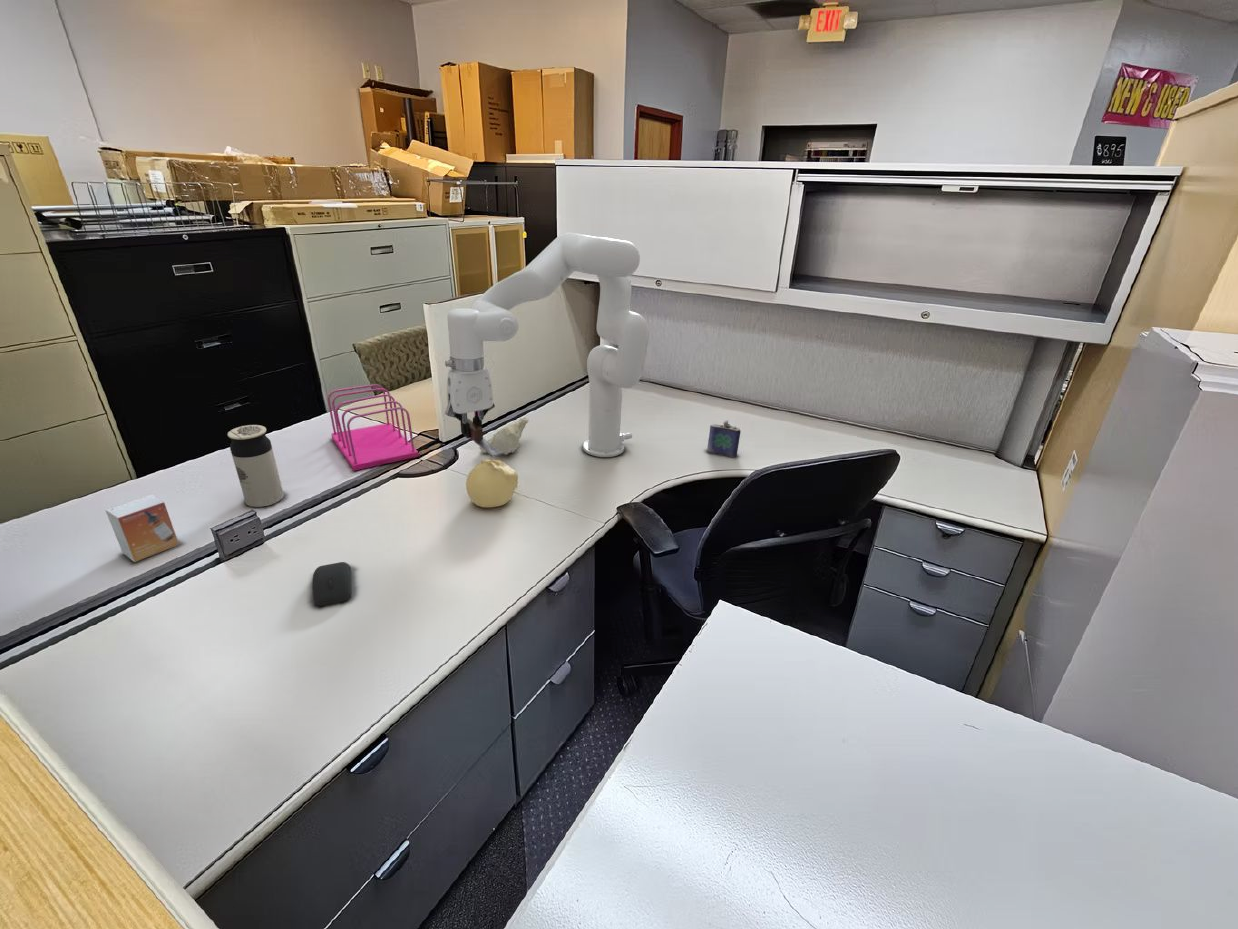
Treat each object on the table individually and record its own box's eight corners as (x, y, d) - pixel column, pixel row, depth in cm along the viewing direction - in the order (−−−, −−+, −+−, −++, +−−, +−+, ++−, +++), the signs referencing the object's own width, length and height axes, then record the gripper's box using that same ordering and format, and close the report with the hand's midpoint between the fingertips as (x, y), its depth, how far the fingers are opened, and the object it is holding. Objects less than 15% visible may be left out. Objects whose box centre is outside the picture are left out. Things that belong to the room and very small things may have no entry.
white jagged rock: (489, 469, 159) (529, 438, 157) (473, 449, 158) (513, 417, 156) (503, 462, 174) (540, 433, 172) (488, 443, 173) (526, 414, 171)
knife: (460, 431, 141) (459, 420, 140) (470, 429, 143) (469, 418, 141) (493, 456, 129) (492, 444, 127) (503, 454, 130) (502, 442, 129)
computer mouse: (314, 608, 102) (309, 591, 100) (316, 572, 111) (312, 556, 109) (351, 601, 104) (348, 584, 103) (351, 566, 114) (347, 550, 112)
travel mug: (278, 488, 140) (261, 421, 132) (288, 500, 135) (271, 432, 127) (241, 498, 135) (221, 429, 127) (251, 511, 130) (231, 441, 122)
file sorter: (354, 471, 149) (344, 417, 142) (331, 439, 167) (322, 389, 160) (418, 457, 159) (412, 405, 152) (391, 427, 177) (384, 380, 170)
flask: (706, 452, 172) (710, 420, 167) (707, 449, 174) (712, 417, 169) (736, 458, 169) (741, 425, 164) (737, 454, 172) (742, 422, 167)
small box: (134, 563, 111) (116, 518, 106) (122, 553, 114) (103, 509, 109) (180, 544, 117) (164, 501, 113) (167, 535, 120) (151, 493, 115)
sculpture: (525, 501, 140) (524, 462, 135) (485, 518, 132) (483, 478, 127) (498, 484, 147) (496, 447, 142) (458, 500, 139) (455, 461, 134)
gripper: (440, 372, 124) (447, 447, 132) (505, 363, 133) (508, 434, 141) (428, 363, 129) (435, 436, 137) (491, 355, 138) (494, 424, 146)
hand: (472, 434), depth 139 cm, fingers closed on knife, 2 cm apart
